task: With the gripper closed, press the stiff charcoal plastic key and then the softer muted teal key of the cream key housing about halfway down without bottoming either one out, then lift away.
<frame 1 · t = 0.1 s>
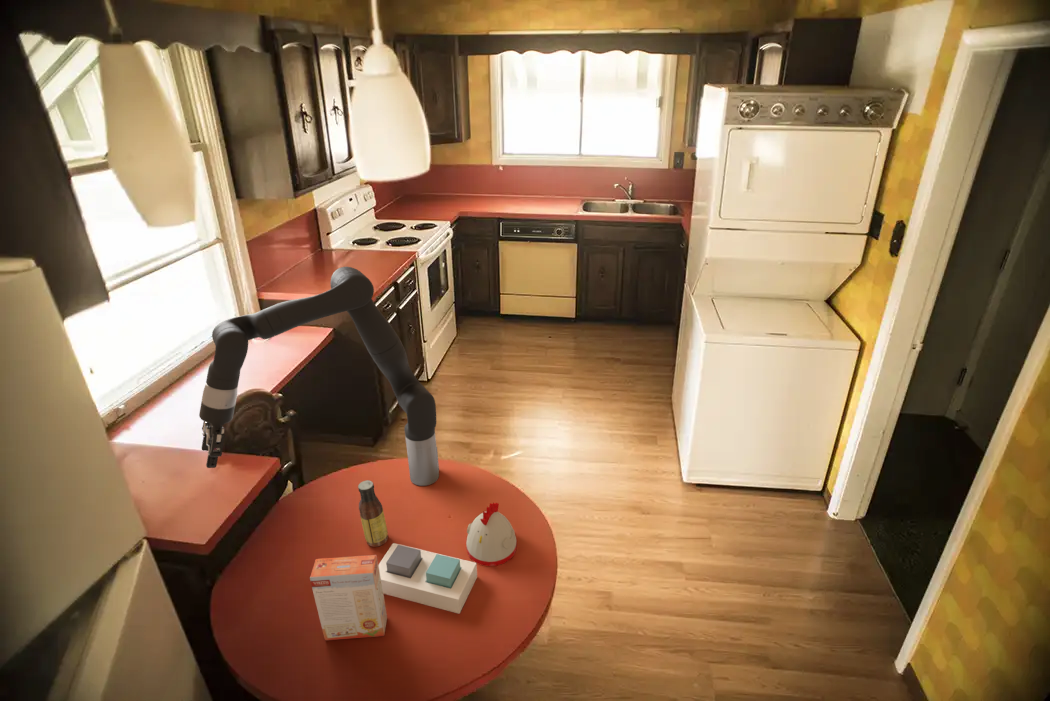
hand: (208, 458, 151), 31 cm above the table, tool tilted 20°, fingers open, 8 cm apart
sauce bottle: (376, 540, 169), on the table
kitchen timer: (491, 547, 166), on the table
teal key: (443, 571, 151), point 6 cm above the table, slide at 0.0 cm
key housing: (425, 583, 155), on the table
charcoal key: (404, 562, 154), point 6 cm above the table, slide at 0.0 cm
cracker box: (356, 628, 143), on the table
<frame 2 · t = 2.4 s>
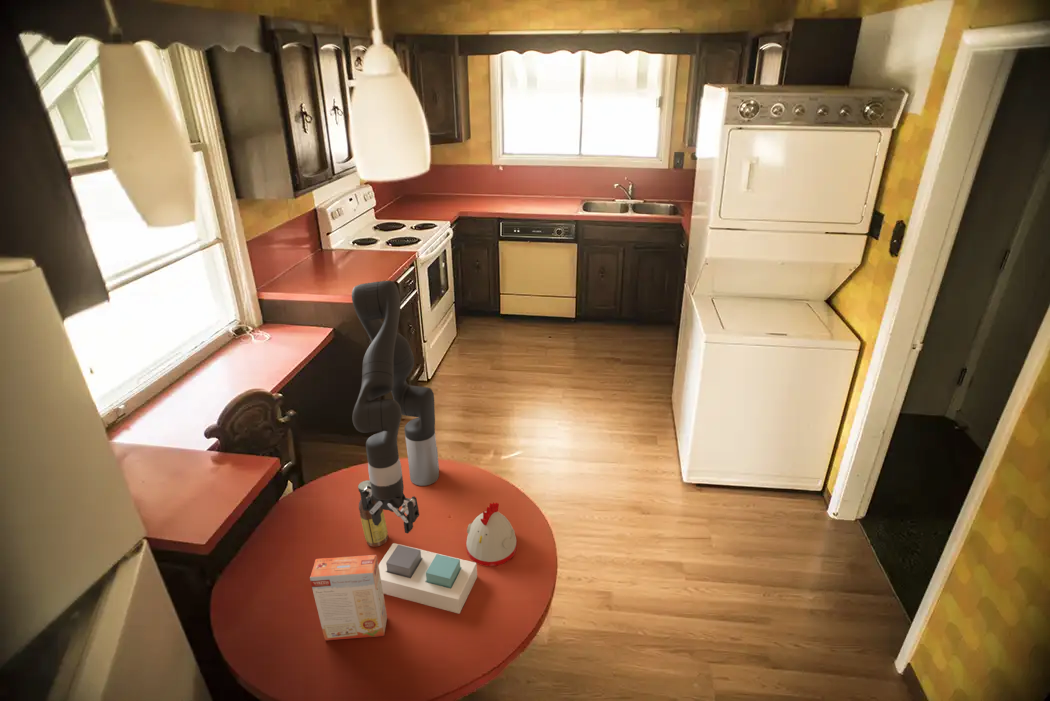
hand: (393, 527, 148), 18 cm above the table, tool pointing down, fingers open, 8 cm apart
nothing on the table moved.
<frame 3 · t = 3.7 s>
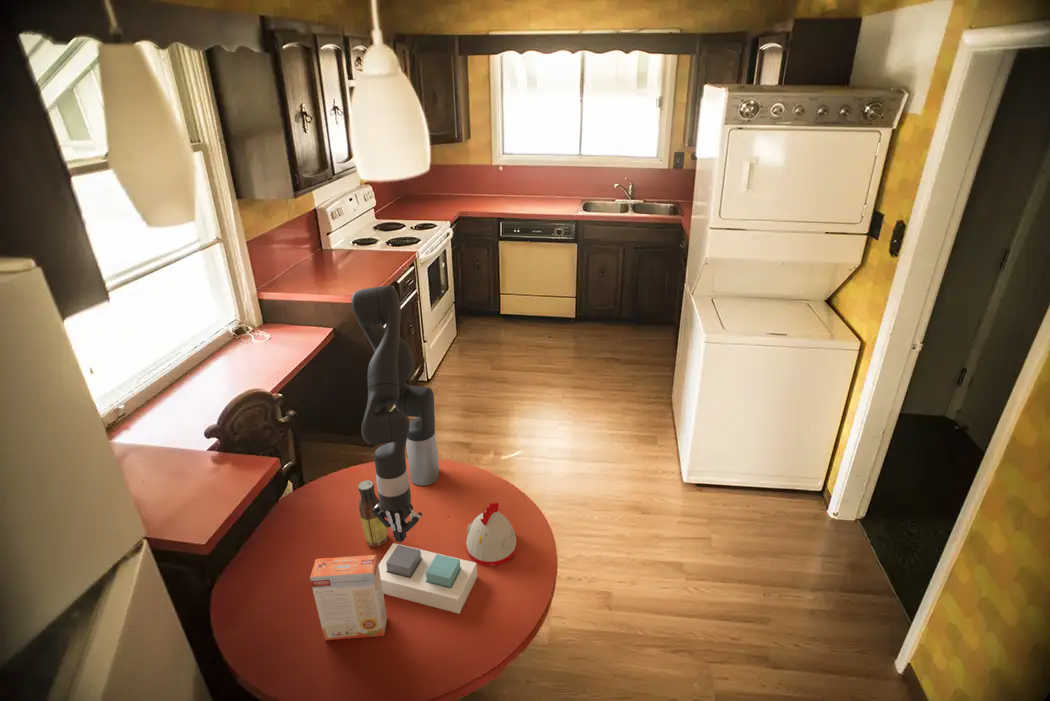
hand: (400, 539, 150), 14 cm above the table, tool pointing down, fingers closed
nothing on the table moved.
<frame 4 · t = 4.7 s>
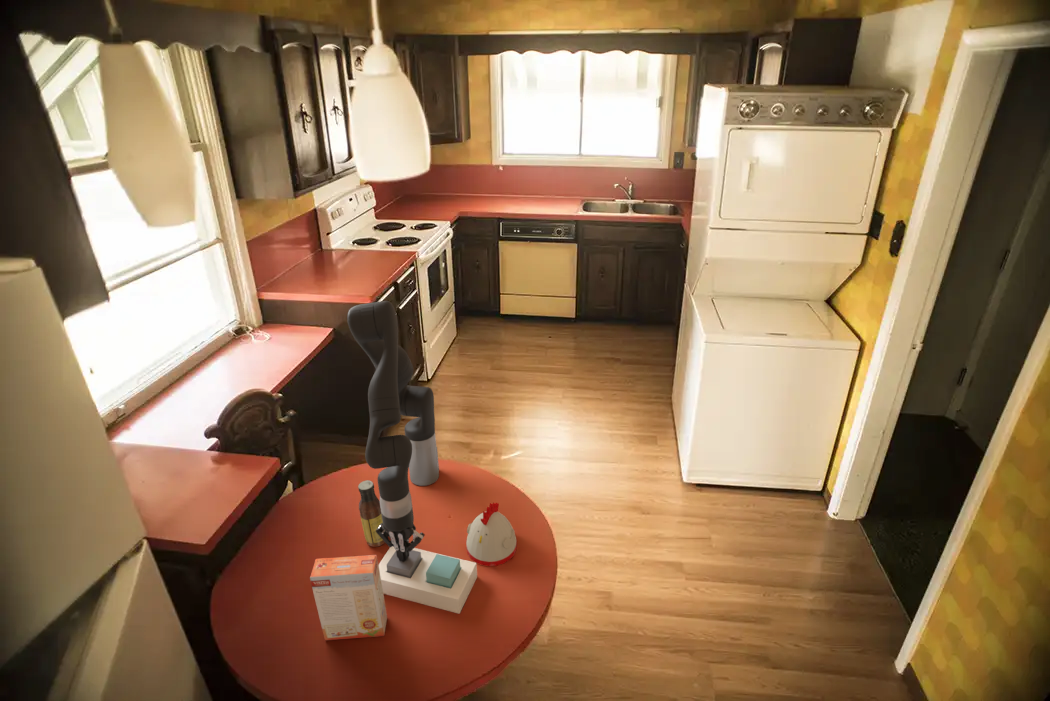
hand: (403, 558, 153), 7 cm above the table, tool pointing down, fingers closed
charcoal key: (404, 564, 154), point 5 cm above the table, slide at 0.7 cm, touching gripper
everything else where it was.
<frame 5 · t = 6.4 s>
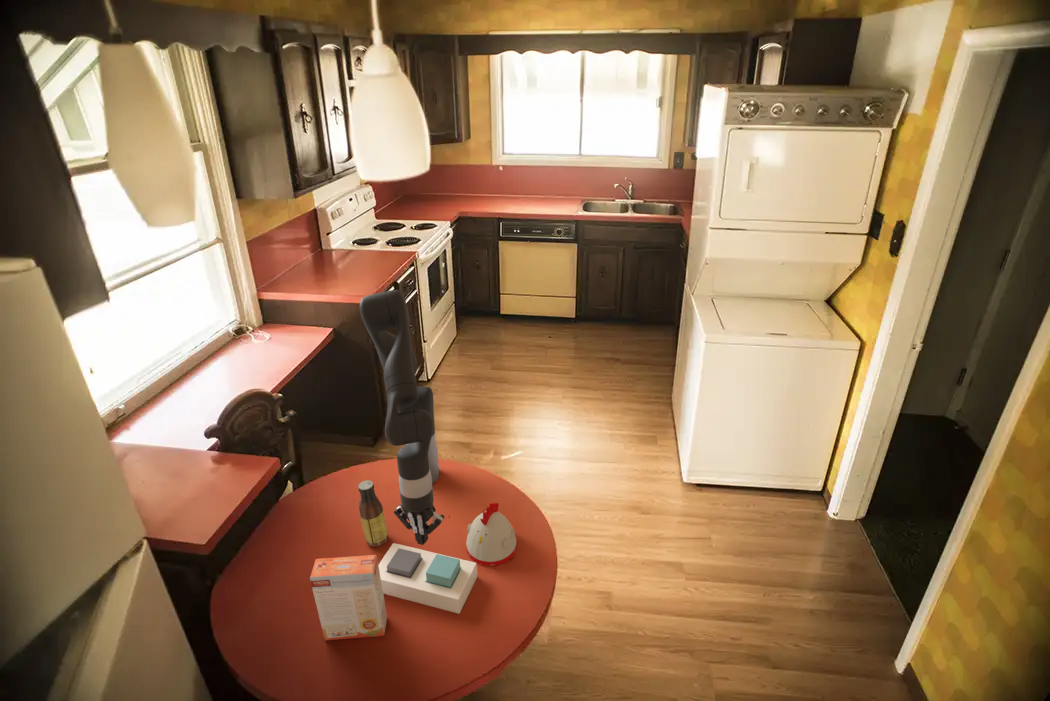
hand: (422, 542, 147), 15 cm above the table, tool pointing down, fingers closed
charcoal key: (404, 565, 154), point 5 cm above the table, slide at 1.2 cm
everything else where it was.
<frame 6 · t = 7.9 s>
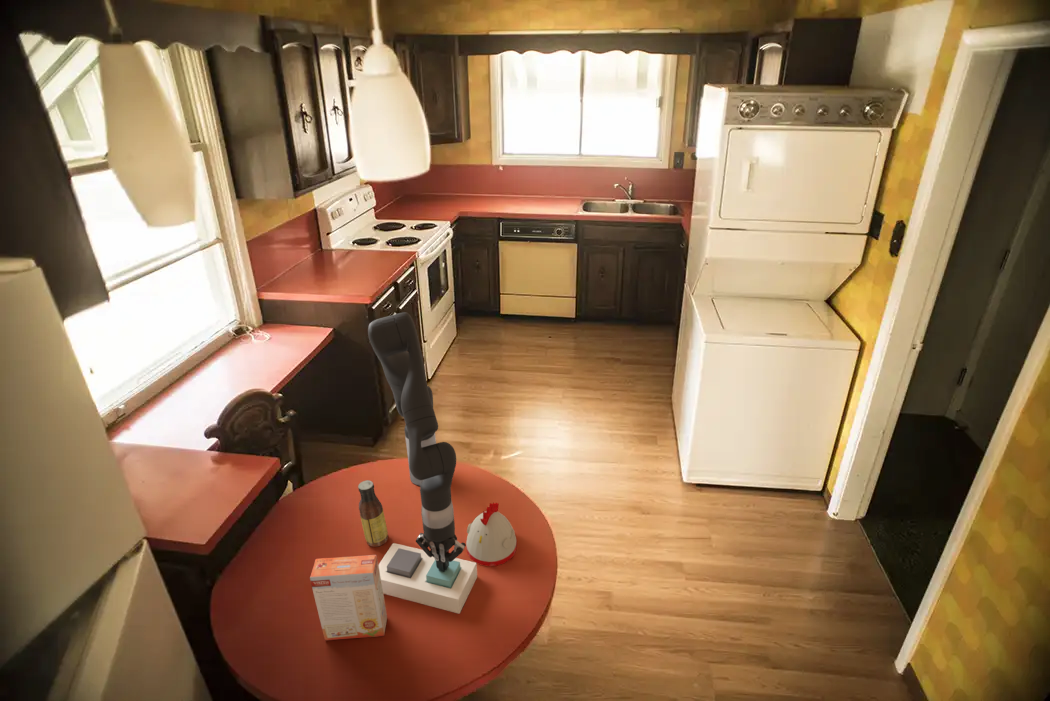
hand: (443, 568, 150), 7 cm above the table, tool pointing down, fingers closed
teal key: (443, 574, 151), point 5 cm above the table, slide at 0.9 cm, touching gripper
everything else where it was.
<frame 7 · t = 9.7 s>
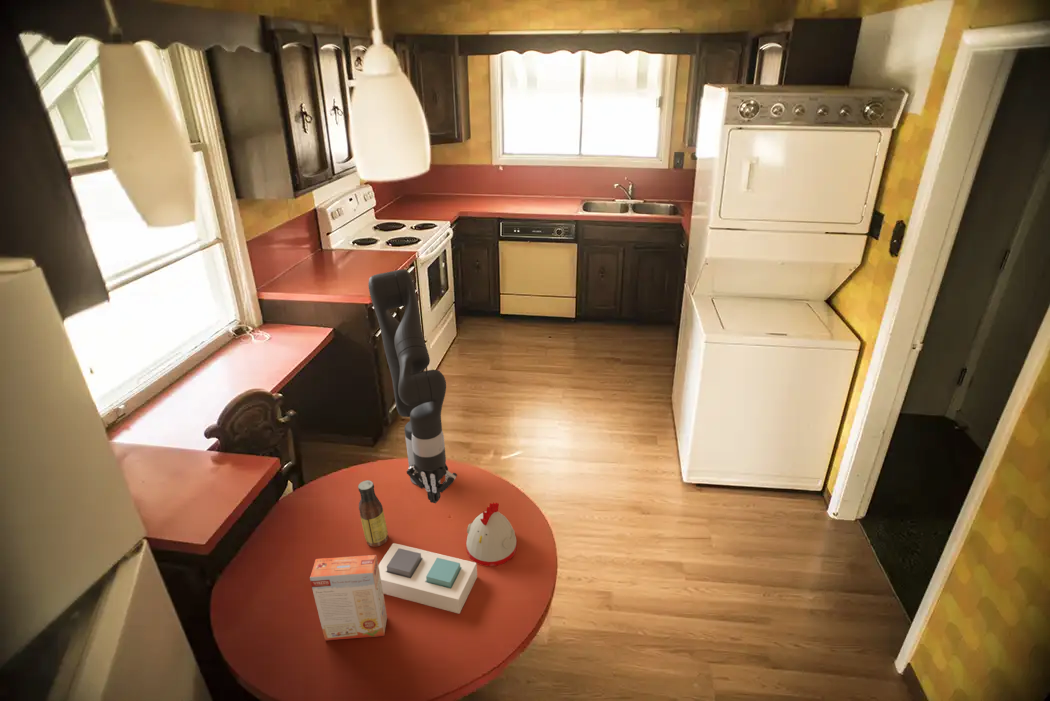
hand: (434, 500, 150), 23 cm above the table, tool pointing down, fingers closed
teal key: (443, 575, 151), point 5 cm above the table, slide at 1.3 cm
everything else where it was.
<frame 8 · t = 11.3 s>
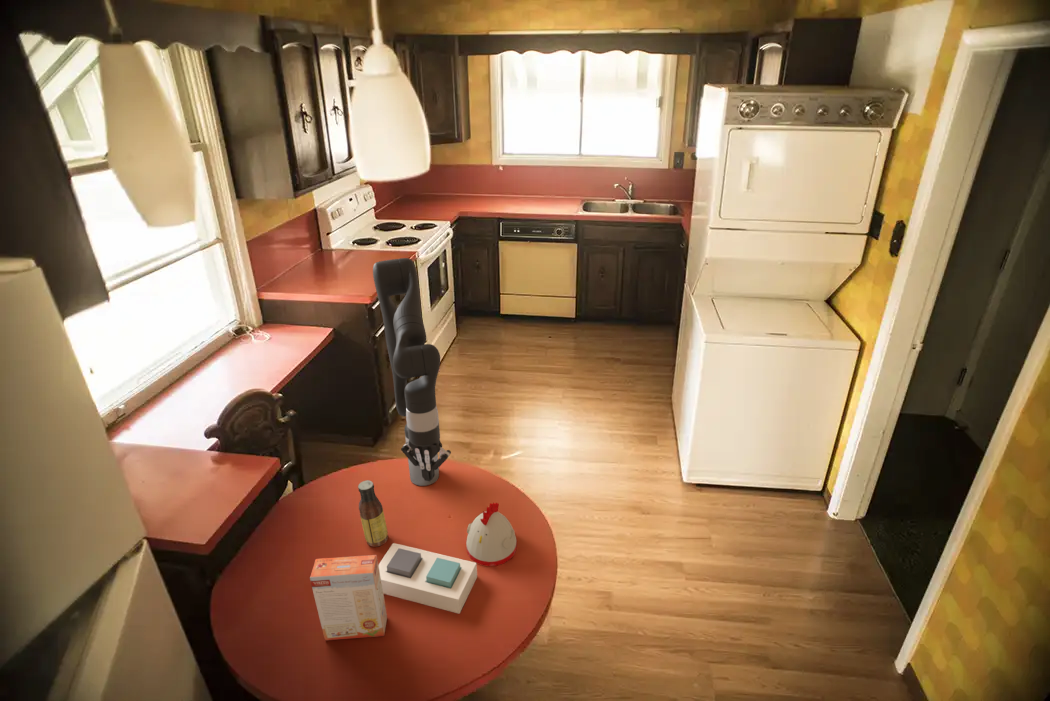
hand: (428, 479, 150), 27 cm above the table, tool pointing down, fingers closed
nothing on the table moved.
at the end: charcoal key slide at 1.2 cm; teal key slide at 1.3 cm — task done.
